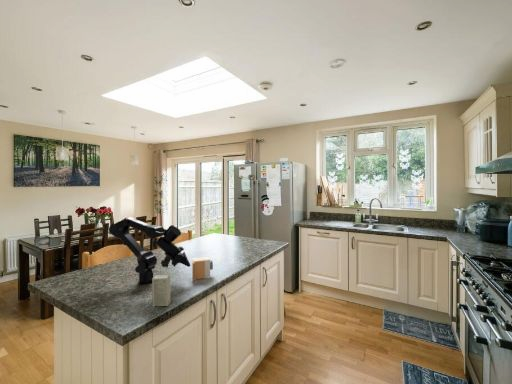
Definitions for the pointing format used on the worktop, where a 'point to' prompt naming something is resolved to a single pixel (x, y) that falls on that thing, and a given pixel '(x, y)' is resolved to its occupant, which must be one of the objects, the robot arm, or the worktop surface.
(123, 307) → the worktop surface
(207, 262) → the block
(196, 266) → the orange l-shaped block
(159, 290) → the skincare box
